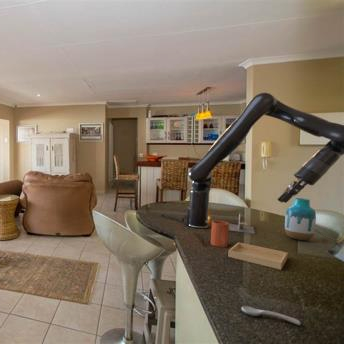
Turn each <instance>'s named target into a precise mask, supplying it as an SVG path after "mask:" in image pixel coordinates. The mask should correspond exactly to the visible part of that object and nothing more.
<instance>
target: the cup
mask: <svg viewBox="0 0 344 344" xmlns="http://www.w3.org/2000/svg"><path fill="white" fill-rule="evenodd" d="M229 224H230V223H229V221H228V222H227V221H224V220H211V227H210V229H211V230H210V245H211V246H214V247H218V248H227V247H228V244H229V231H230V230H229Z"/></svg>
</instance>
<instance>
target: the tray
mask: <svg viewBox="0 0 344 344" xmlns="http://www.w3.org/2000/svg"><path fill="white" fill-rule="evenodd" d="M227 253H228V254H227V257H228V258H232V259H235V260H239V261H244V262H248V263H252V264H256V265H260V266H263V267H269V268H272V269H276V270H280V271H281V270H282V269H283V267H284V265H285V264H286V262H287V260H288V254H289V253H288V252H287V251H282V250H277V249H272V248H268V247H262V246H258V245H253V244H250V243H244V242H237V243H236V244H235V245H233V246H232V247H231V248H229V249H228V252H227Z"/></svg>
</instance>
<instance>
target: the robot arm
mask: <svg viewBox="0 0 344 344" xmlns="http://www.w3.org/2000/svg"><path fill="white" fill-rule="evenodd" d="M264 116H267V117H270V118H274V119H277V120H280V121H282V122H284V123H287V124H288V125H291V126H293V127H295V128H297V129H299V130H300V131H303V132H305V133H307V134H310V135H312V136H315V137H317V138H321V137H322V138H325V139H328V140H329V141H328V142H327V143H326V144H325V145H324V146H323V147H321V148H320V149H318V151H316V152H315V153H314V154H313V155H312V157H310V158H309V159H308V160H307V161H305V162H304V163H303V164H302V166H300V167H299V168H298V169H297V170H296V171H295V172H294V173H293V176H294V178H296V179H297V180H293V181H292V182H291V183H290V184H289V185H288V186H287V187H286V189H284V190H283V193H282V194H280V196H279V197H278V198H277V201H278V202H279V203H285V204H287V203H288V202H289V201H290V200H291V199H292V198H293V197H295V196H297V195H298V194H299V193H300V192H301V191H302V190H303V189H305V187H306V186H307V185H309V186H314V185H315V184H316V183H317V182H318V181H320V180H321V178H323V177H324V176H325V174H327V173H328V172H329V170H330V169H331V168H332V167H333V166H334V165H335V164H336V163H337V162H338V160H340V158H341V157H342V156H343V155H344V124H341V123H338V122H332V121H330V120H327V119H324V118H322V117H320V116H317V115H314V114H312V113H309V112H306V111H304V110H303V111H302V110H300V109H296V108H293V107H291V106H288V105H286V104H285V103H283V102H281V101H280V100H278V99H277V98H276V97H275V96H274V95H273V94H271V93H269V92H261V93H258V94H256V95H254V96H253V97H252V98H251V100H249V102H248V104H246V106H245V108H244V109H243V111H242V112H241V113H240V115H239V116H238V117H237V118H236V119H235V120H234V121H233V122H232V123H231V124H230V125H229V126H228V128H226V129H225V130H224V132H223V133H222V134H221V135H220V136H219V137H218V138H217V139H216V141H215V142H214V143H213V144H212V146H211V147H209V150H208V151H207V152H206V153H205V155H203V156H202V158H200V159H199V160H198V162H196V163H195V164H194V165H193V166H192V167H191V168H190V169H189V171H188V172H189V173H188V178H189V180H190V181H192V182H191V183H192V184H191V187H190V189H189V197H188V201H189V202H188V207H187V208H186V210H187V211H186V214H185V215H184V216H182V217H181V219H179V218H177V217H174V216H169V215H167V214H166V213H162V214H161V215H160V217H163V216H164V217H166V218H168V219H172V220H175V221H178V222H181V223H182V222H184V221H186V226H187V227H190V228H195V229H208V223H209V206H210V191H211V189H212V178H213V170H214V169H215V168H216V167H217V165H218V164H220V163H221V162H223V160H225V159H227V157H229V156H230V155H231V154H232V153H234V152H235V151H236V149H238V147H239V146H241V144H242V143H243V142H244V141H245V139H246V137H247V136H248V134H249V133H250V131H251V129H252V128H253V127H254V125H255V124H256V123H257V122H258V121H259V120H260V119H261V118H262V117H264Z"/></svg>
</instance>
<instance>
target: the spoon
mask: <svg viewBox="0 0 344 344" xmlns="http://www.w3.org/2000/svg"><path fill="white" fill-rule="evenodd" d="M241 311H242V312H243V313H245V314H247V315H249V316H252V317H257V316H260V315H267V316H268V315H269V316H273V317H274V318H275V317H276V318H279V319H282V320H285V321H287V322H289V323H292V324H294V325H297V326H301V325H302V324H301V321H300V320H298V318H294V317H292V316H288V315H286V314H282V313H279V312H275V311H270V310H265V309H257V308H255V307H253V306H248V305H242V306H241Z"/></svg>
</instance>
